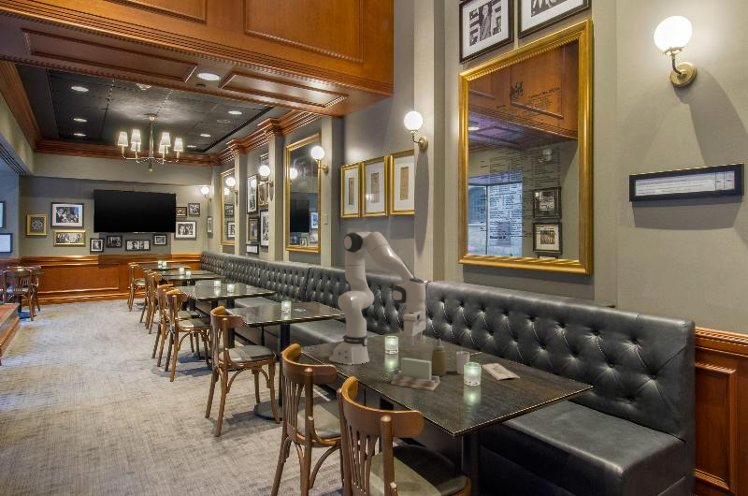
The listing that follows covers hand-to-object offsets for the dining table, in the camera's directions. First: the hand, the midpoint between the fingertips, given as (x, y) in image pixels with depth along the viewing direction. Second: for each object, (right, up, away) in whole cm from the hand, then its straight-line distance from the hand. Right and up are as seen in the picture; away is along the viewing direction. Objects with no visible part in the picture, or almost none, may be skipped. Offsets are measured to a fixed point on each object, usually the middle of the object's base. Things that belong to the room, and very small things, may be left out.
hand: (415, 342), depth 207 cm
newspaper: (+44, -19, +16) cm, 51 cm away
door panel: (0, -18, 0) cm, 18 cm away
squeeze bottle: (+13, -19, +13) cm, 26 cm away
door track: (0, -19, 0) cm, 19 cm away
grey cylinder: (+25, -19, +16) cm, 35 cm away
